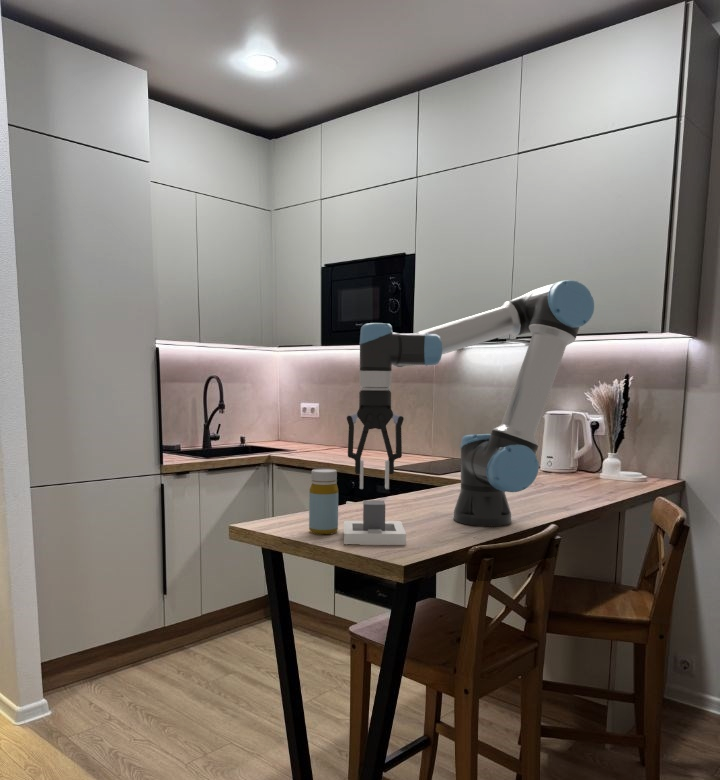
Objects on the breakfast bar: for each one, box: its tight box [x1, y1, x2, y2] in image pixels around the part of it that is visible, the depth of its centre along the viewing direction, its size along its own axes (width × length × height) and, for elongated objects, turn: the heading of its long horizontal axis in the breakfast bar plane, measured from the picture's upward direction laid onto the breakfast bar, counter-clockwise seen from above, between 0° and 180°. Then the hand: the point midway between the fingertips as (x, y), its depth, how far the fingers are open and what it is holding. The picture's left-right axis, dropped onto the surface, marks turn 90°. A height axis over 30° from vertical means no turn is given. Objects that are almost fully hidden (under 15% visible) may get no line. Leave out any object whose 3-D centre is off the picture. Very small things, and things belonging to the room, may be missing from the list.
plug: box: [362, 499, 386, 531], centre depth 146 cm, size 5×5×8 cm
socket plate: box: [343, 520, 407, 546], centre depth 146 cm, size 14×13×3 cm
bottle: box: [308, 468, 339, 535], centre depth 151 cm, size 7×7×15 cm
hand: (374, 487), depth 146 cm, fingers open, 5 cm apart
